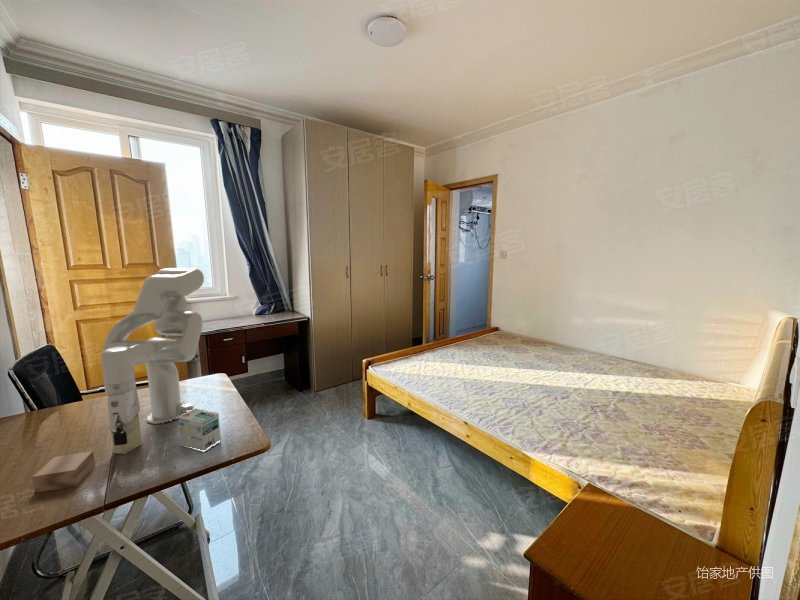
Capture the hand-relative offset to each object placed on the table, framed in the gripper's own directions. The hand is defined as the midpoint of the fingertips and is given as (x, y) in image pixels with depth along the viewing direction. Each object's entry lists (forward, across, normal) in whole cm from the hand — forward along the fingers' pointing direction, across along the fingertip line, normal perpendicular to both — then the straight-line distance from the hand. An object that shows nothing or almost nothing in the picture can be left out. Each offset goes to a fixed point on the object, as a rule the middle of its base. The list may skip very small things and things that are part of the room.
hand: (126, 437), depth 108 cm
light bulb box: (+4, -5, -22) cm, 23 cm away
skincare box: (+4, 0, 0) cm, 4 cm away
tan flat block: (+4, -12, +10) cm, 16 cm away
